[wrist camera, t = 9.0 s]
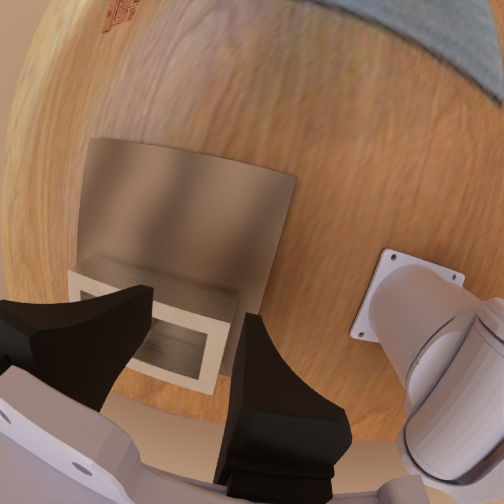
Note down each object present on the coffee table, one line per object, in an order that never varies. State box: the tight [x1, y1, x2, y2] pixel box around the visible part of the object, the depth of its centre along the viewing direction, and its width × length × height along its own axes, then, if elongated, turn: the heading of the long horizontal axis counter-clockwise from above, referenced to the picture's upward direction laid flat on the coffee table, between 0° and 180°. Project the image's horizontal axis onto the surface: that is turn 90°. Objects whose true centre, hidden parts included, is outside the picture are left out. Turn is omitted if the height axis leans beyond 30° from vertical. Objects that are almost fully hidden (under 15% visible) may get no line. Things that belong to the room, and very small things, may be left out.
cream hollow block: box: [68, 254, 238, 395], centre depth 19 cm, size 12×7×4 cm, turn 76°
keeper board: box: [77, 138, 297, 377], centre depth 18 cm, size 16×17×7 cm
